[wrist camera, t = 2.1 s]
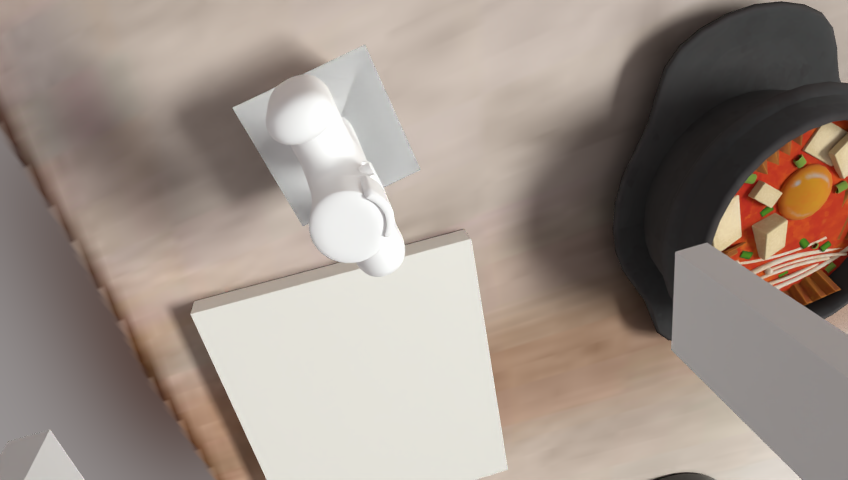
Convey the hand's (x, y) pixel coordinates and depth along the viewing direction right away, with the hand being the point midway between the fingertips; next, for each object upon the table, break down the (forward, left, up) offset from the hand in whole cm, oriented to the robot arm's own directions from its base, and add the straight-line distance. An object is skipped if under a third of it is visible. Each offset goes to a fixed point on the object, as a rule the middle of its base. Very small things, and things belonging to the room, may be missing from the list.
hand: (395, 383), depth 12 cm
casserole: (-11, -26, -24) cm, 37 cm away
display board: (-20, +2, -23) cm, 31 cm away
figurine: (0, 0, -24) cm, 24 cm away
